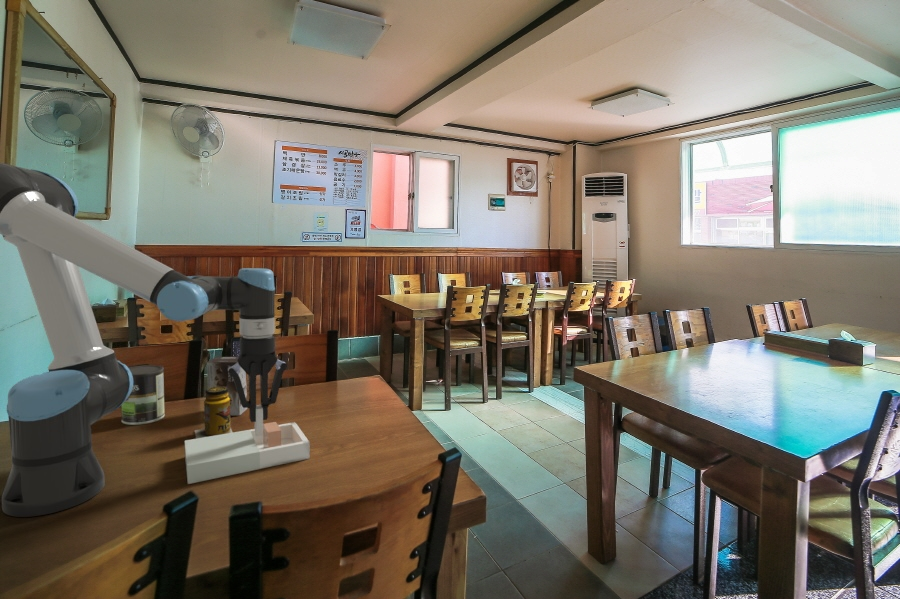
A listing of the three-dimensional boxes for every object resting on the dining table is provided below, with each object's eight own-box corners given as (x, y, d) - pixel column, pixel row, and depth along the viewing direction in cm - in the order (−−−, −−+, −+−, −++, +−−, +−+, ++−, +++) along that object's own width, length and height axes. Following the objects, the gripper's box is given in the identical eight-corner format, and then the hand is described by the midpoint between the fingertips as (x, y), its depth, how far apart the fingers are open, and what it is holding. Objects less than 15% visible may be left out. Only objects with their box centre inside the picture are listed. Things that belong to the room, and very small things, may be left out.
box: (259, 468, 102) (259, 451, 102) (250, 445, 114) (249, 429, 114) (309, 458, 108) (309, 442, 108) (295, 436, 120) (295, 422, 119)
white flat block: (187, 484, 95) (187, 465, 94) (185, 457, 107) (184, 440, 106) (259, 468, 102) (259, 451, 102) (250, 445, 114) (249, 429, 114)
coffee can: (140, 427, 122) (138, 376, 121) (112, 422, 125) (109, 371, 124) (174, 414, 132) (172, 367, 131) (147, 409, 135) (145, 363, 134)
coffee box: (248, 408, 139) (247, 356, 137) (239, 416, 133) (238, 361, 131) (217, 408, 139) (216, 355, 137) (207, 415, 132) (206, 361, 130)
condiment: (233, 435, 120) (233, 390, 118) (197, 441, 115) (195, 395, 114) (229, 425, 126) (228, 383, 125) (194, 431, 121) (193, 387, 120)
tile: (267, 432, 106) (281, 430, 108) (263, 423, 111) (276, 421, 113) (267, 457, 107) (281, 454, 108) (263, 447, 112) (276, 445, 113)
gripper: (228, 340, 99) (230, 445, 101) (290, 336, 106) (291, 434, 108) (224, 334, 105) (226, 433, 108) (283, 330, 112) (284, 423, 115)
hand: (258, 433), depth 108 cm, fingers closed
